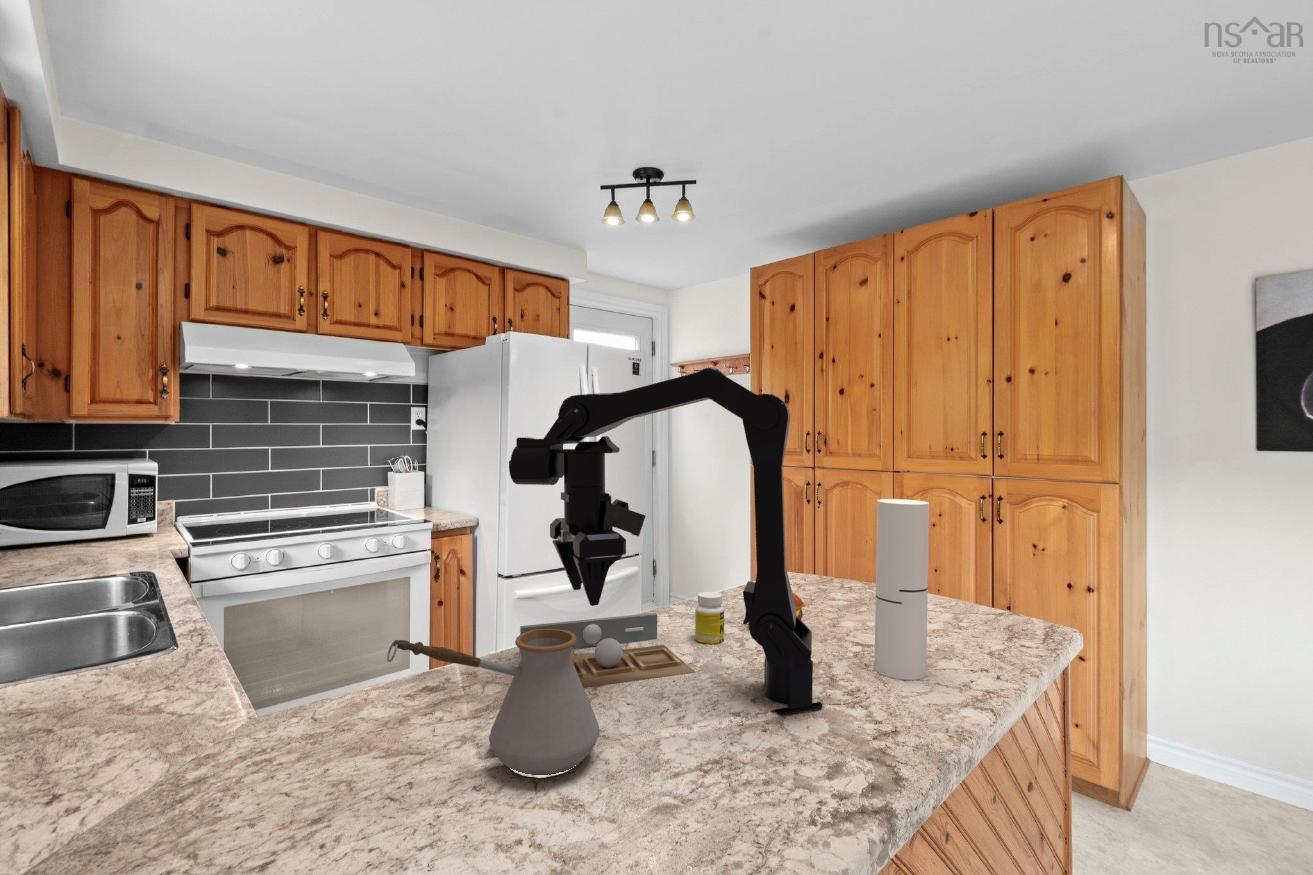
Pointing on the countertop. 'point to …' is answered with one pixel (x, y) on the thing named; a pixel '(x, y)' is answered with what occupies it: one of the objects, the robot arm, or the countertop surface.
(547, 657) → the coffee pot
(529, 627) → the card
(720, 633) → the supplement bottle
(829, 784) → the countertop surface
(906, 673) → the cylindrical container
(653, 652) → the rack
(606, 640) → the grey ball
